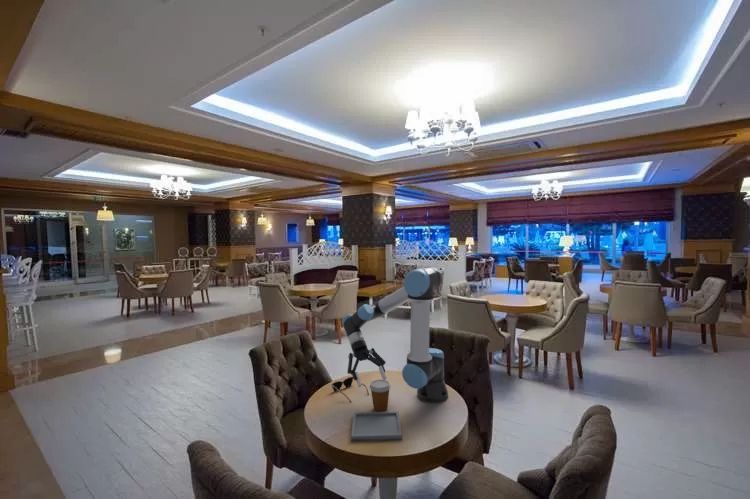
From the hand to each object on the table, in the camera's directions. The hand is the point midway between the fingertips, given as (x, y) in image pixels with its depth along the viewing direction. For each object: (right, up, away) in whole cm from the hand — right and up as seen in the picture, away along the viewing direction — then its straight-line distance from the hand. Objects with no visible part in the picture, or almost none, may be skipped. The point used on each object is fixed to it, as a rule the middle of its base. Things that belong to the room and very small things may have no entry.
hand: (372, 382), depth 167 cm
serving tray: (+2, -11, -19) cm, 23 cm away
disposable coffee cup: (+4, -11, -4) cm, 12 cm away
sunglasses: (-11, -11, +13) cm, 20 cm away
